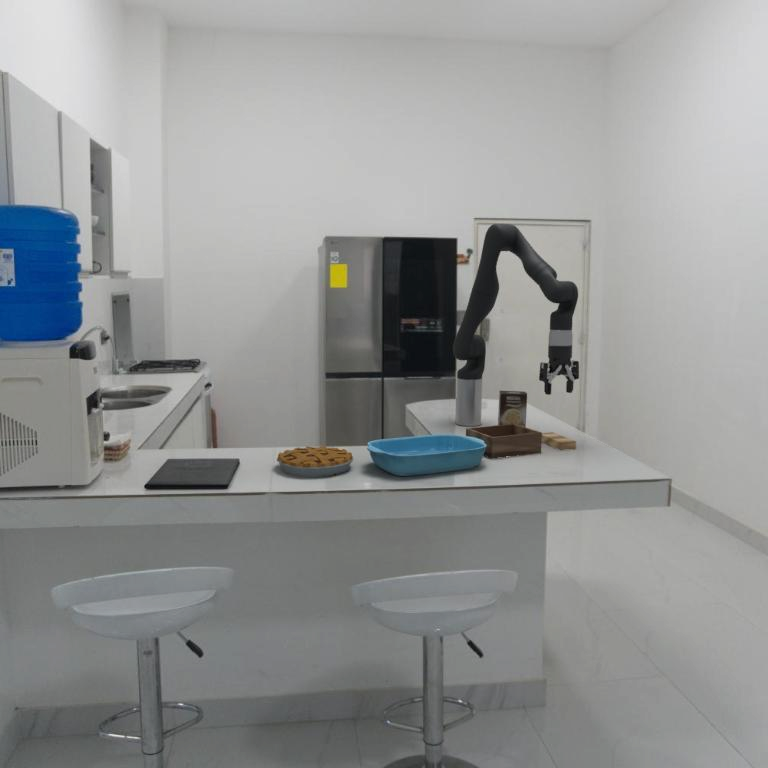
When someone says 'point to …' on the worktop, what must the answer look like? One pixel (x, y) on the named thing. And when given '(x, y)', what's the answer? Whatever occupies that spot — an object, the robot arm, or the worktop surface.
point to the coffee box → (512, 408)
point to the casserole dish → (426, 453)
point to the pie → (315, 461)
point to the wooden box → (507, 440)
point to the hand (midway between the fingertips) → (558, 393)
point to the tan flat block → (558, 441)
